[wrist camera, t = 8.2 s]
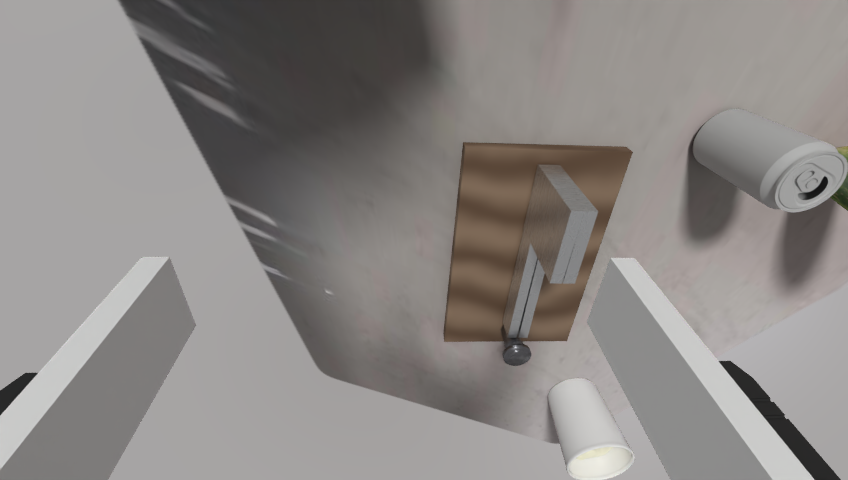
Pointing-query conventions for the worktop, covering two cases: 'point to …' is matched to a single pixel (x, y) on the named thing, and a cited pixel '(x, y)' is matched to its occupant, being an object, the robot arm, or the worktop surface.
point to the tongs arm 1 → (543, 241)
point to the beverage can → (770, 160)
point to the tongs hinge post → (514, 350)
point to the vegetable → (844, 195)
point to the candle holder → (588, 431)
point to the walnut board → (519, 234)
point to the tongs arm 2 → (576, 253)
